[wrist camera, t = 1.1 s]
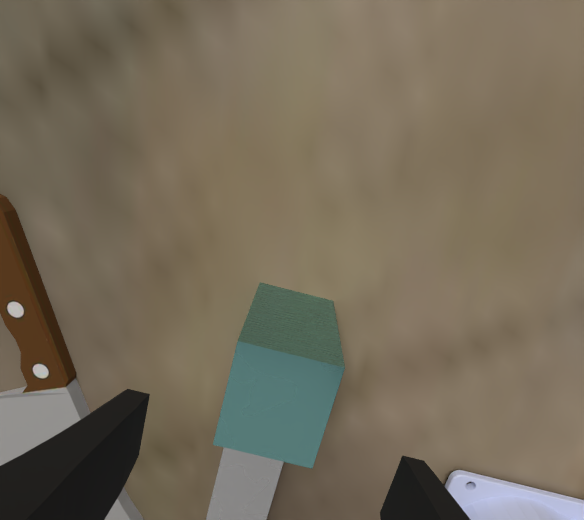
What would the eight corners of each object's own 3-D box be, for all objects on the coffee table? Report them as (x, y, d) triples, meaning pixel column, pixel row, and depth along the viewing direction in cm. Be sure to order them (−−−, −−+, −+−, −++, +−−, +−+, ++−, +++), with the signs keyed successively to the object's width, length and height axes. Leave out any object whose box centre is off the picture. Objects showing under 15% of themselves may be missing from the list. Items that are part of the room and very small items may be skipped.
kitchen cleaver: (-163, 224, 18) (33, 181, 16) (-137, 220, 19) (49, 180, 17) (33, 612, 24) (187, 604, 23) (44, 593, 25) (193, 585, 24)
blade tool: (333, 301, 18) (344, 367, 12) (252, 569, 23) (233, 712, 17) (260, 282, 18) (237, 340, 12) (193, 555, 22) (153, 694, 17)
